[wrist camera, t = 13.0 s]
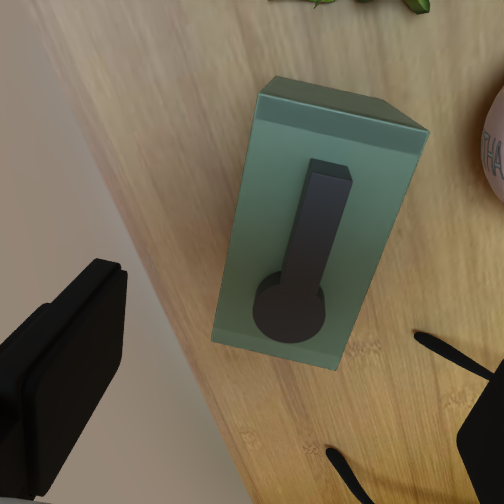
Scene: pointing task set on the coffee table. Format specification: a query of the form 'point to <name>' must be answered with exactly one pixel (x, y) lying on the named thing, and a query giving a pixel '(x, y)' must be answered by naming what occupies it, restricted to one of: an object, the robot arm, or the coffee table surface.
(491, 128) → the mug
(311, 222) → the square rod on disc
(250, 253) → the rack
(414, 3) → the decorative ornament
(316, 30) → the coffee table surface
